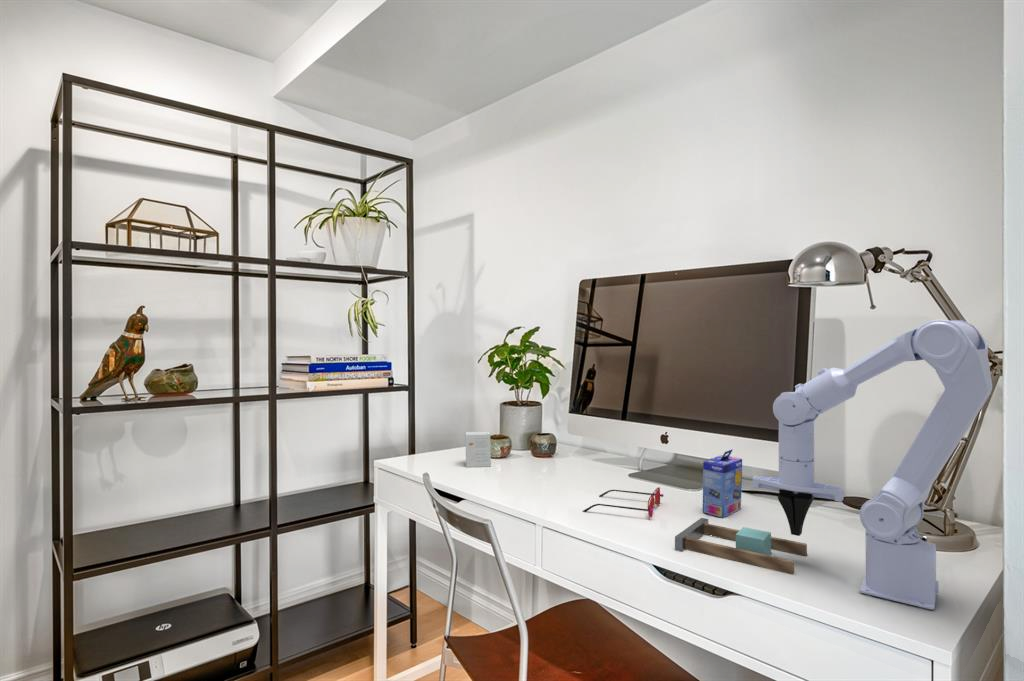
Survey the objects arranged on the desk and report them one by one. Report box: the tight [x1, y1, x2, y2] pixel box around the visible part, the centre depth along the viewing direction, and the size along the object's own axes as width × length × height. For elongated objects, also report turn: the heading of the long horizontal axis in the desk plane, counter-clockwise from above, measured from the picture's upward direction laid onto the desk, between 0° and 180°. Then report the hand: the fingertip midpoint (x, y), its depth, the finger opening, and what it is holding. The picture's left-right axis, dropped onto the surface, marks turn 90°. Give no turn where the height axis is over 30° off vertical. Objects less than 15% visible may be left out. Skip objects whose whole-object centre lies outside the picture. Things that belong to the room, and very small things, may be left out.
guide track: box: [685, 523, 808, 575], centre depth 107 cm, size 19×11×2 cm, turn 51°
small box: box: [464, 430, 492, 468], centre depth 181 cm, size 8×6×10 cm
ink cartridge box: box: [702, 449, 743, 519], centre depth 131 cm, size 10×6×14 cm, turn 135°
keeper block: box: [735, 526, 772, 556], centre depth 106 cm, size 5×5×4 cm
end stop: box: [674, 517, 709, 552], centre depth 113 cm, size 2×14×2 cm, turn 141°
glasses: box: [581, 486, 664, 518], centre depth 135 cm, size 14×16×5 cm
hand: (796, 533), depth 101 cm, fingers closed
